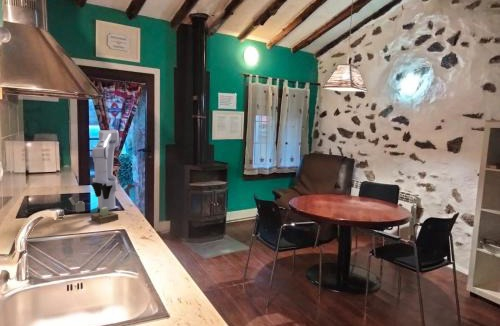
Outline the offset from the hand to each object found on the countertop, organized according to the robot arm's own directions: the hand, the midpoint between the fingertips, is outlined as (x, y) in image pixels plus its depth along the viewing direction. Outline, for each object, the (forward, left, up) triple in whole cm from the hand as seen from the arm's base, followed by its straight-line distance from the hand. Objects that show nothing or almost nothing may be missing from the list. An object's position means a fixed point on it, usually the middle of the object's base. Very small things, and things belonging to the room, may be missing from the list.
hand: (102, 197), depth 168 cm
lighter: (-17, -5, -10) cm, 20 cm away
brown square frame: (+7, -2, -9) cm, 12 cm away
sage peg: (+7, -3, -9) cm, 12 cm away
